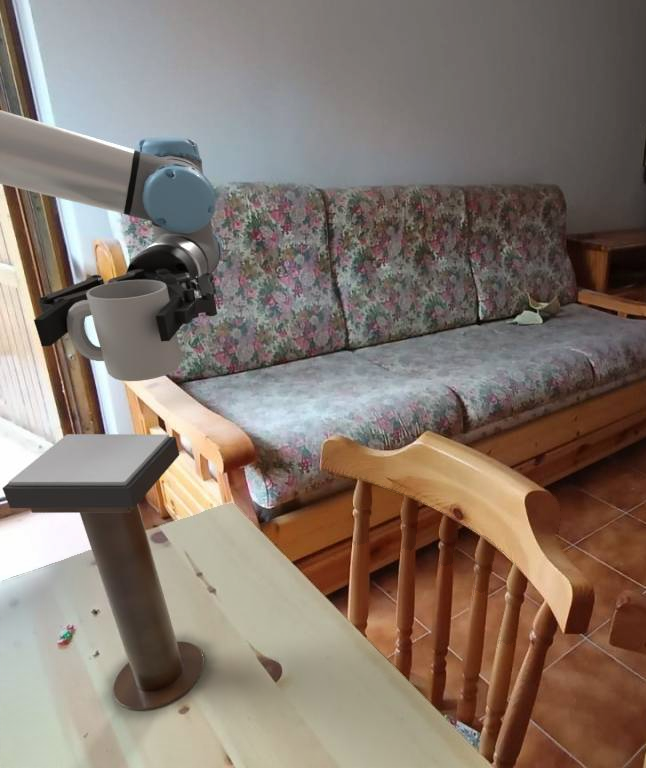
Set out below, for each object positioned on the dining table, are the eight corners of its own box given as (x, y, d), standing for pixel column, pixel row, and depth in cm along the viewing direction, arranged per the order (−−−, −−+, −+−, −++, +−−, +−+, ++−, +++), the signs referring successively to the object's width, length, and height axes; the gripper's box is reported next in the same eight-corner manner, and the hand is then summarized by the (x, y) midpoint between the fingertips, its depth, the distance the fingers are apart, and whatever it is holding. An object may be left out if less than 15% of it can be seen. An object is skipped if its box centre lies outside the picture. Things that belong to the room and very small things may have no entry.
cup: (175, 379, 66) (157, 297, 62) (67, 387, 64) (41, 302, 60) (188, 353, 72) (173, 278, 69) (91, 360, 70) (69, 282, 66)
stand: (98, 716, 62) (19, 508, 51) (141, 648, 70) (80, 454, 59) (184, 715, 62) (124, 508, 52) (218, 647, 70) (171, 454, 59)
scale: (6, 508, 51) (-4, 483, 50) (68, 454, 59) (61, 432, 58) (134, 508, 52) (127, 483, 51) (179, 454, 59) (174, 432, 58)
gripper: (264, 297, 85) (231, 360, 65) (79, 303, 81) (-16, 372, 61) (256, 242, 82) (219, 290, 62) (63, 244, 78) (-42, 297, 58)
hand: (103, 330), depth 62 cm, fingers closed on cup, 10 cm apart
